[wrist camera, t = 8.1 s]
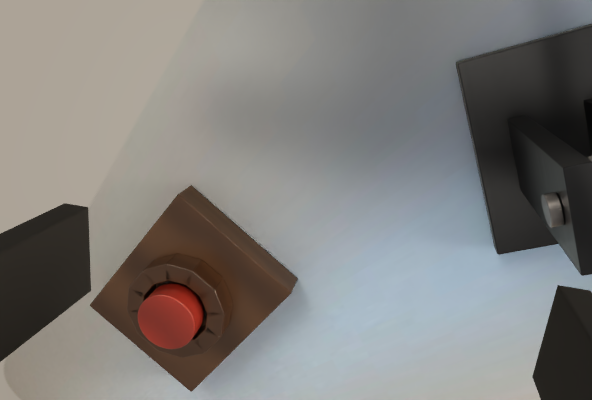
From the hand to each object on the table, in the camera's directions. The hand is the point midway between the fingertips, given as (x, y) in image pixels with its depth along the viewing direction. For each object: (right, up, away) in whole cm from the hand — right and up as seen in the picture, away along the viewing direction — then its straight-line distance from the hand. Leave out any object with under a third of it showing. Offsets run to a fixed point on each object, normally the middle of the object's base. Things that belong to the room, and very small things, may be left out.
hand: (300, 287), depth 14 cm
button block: (-8, -4, +24) cm, 26 cm away
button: (-8, -5, +21) cm, 23 cm away
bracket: (+15, +6, +16) cm, 23 cm away
